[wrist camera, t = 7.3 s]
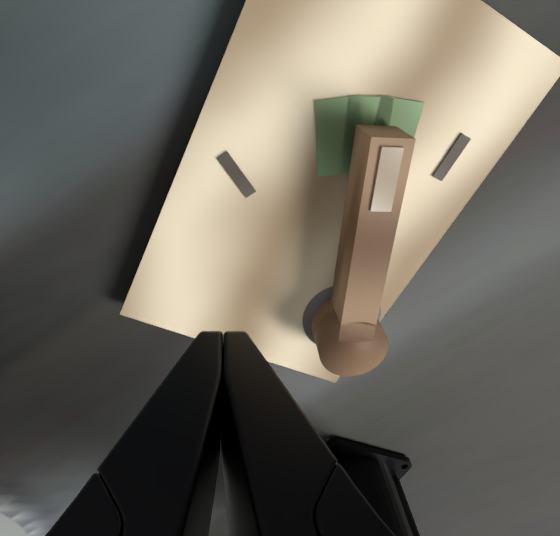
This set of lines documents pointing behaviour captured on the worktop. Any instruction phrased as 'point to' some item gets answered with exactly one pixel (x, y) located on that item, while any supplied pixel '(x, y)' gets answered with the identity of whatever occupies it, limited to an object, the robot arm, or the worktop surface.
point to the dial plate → (328, 157)
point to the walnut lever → (364, 252)
